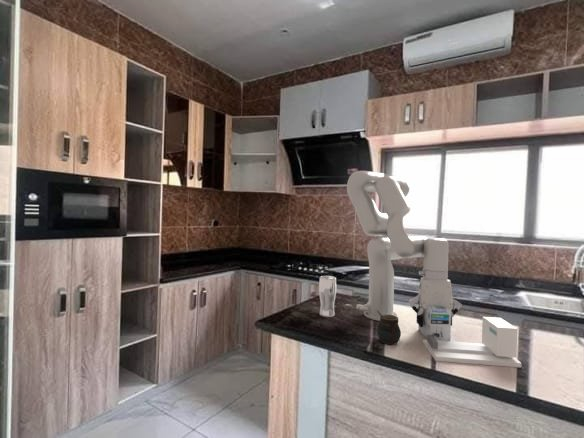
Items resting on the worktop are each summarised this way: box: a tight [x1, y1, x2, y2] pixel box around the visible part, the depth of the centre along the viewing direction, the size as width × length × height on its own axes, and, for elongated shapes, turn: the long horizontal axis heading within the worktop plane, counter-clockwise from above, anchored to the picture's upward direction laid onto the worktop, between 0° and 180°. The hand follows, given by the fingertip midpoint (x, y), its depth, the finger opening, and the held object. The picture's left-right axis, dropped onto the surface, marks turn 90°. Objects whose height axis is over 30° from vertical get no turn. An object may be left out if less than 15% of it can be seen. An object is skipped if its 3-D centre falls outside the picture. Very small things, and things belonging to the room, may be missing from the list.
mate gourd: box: [376, 311, 402, 346], centre depth 100 cm, size 7×8×10 cm
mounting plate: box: [423, 335, 522, 368], centre depth 93 cm, size 22×12×4 cm, turn 82°
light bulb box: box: [418, 306, 452, 341], centre depth 106 cm, size 11×7×11 cm, turn 179°
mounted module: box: [481, 316, 518, 358], centre depth 91 cm, size 5×9×8 cm, turn 172°
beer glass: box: [318, 275, 338, 318], centre depth 126 cm, size 7×7×15 cm
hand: (433, 326), depth 106 cm, fingers open, 8 cm apart
